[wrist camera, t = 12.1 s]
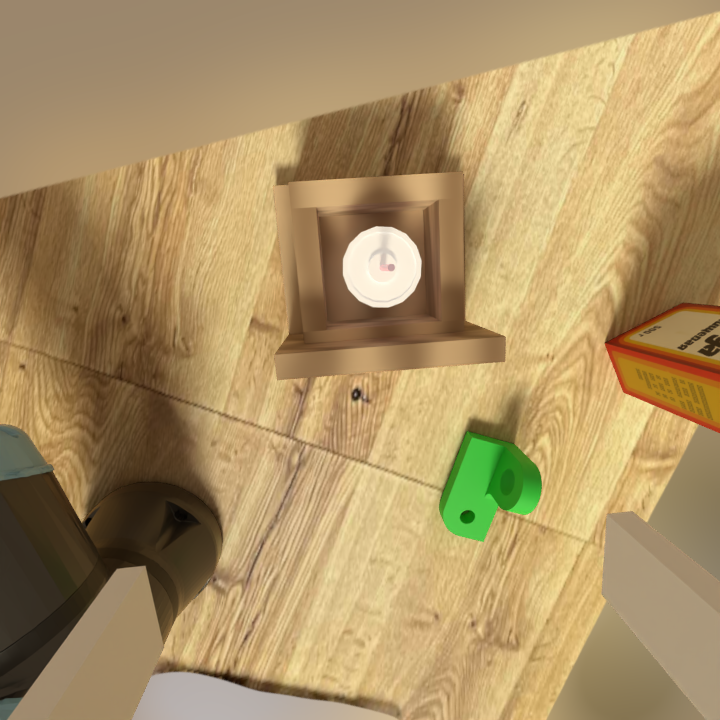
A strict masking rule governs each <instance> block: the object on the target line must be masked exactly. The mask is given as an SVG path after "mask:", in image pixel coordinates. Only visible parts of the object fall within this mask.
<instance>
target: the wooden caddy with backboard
mask: <svg viewBox="0 0 720 720" xmlns="http://www.w3.org/2000/svg"><path fill="white" fill-rule="evenodd" d="M273 191H274V200H275V210H276V219H277V228H278V237H279V246H280V256H281V265H282V274H283V283H284V292H285V301H286V311H287V320H288V329H289V335H288V337H287V338H286V339H285V341H284V342H283V344H282V345H281V346H280V348H279V349H278V350H277V352H276V353H275V354H274V357H275V366H276V374H277V380H284V379H297V378H309V377H321V376H334V375H346V374H358V373H370V372H383V371H395V370H407V369H420V368H432V367H444V366H457V365H469V364H481V363H493V362H505V346H506V337H505V336H503V335H500V334H497V333H495V332H492V331H490V330H487V329H485V328H482V327H480V326H477V325H474V324H472V323H469V322H467V321H465V241H464V174H463V171H462V172H445V173H428V174H412V175H395V176H379V177H362V178H346V179H329V180H313V181H296V182H288V185H275V186H273ZM376 226H378V227H393V228H395V229H397V230H399V231H401V232H403V233H405V234H407V235H408V237H409V238H410V239H411V240H412V241H413V242H414V244H415V245H416V246H417V249H418V252H419V255H420V258H421V261H422V263H421V277H420V279H419V282H418V284H417V286H416V288H415V290H414V292H413V293H412V294H411V295H410V296H408V297H407V298H406V299H405V300H404V301H403V302H401V303H399V304H396V305H394V306H391V307H388V308H387V307H372V306H369V305H367V304H365V303H363V302H360V301H359V300H358V299H357V298H356V297H355V296H354V295H353V294H352V293H351V292H350V291H349V290H348V287H347V284H346V282H345V279H344V277H343V258H344V255H345V253H346V251H347V248H348V246H349V244H350V243H351V242H352V241H353V240H354V239H355V238H356V237H357V236H358V235H359V234H360V233H361V232H363V231H366V230H368V229H371V228H373V227H376Z"/></svg>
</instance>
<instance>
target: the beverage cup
mask: <svg viewBox="0 0 720 720" xmlns="http://www.w3.org/2000/svg"><path fill="white" fill-rule="evenodd" d="M421 263H422V261H421V258H420V255H419V252H418V249H417V246H416V245H415V244H414V242H413V241H412V240H411V239H410V238H409V237H408V235H407V234H405V233H403V232H401V231H399V230H397V229H395V228H393V227H378V226H376V227H373V228H371V229H368V230H366V231H363V232H361V233H360V234H359V235H358V236H357V237H356V238H355V239H354V240H353V241H352V242H351V243H350V244H349V246H348V248H347V251H346V253H345V255H344V258H343V277H344V279H345V282H346V284H347V287H348V290H349V291H350V292H351V293H352V294H353V295H354V296H355V297H356V298H357V299H358V300H359V301H360V302H363V303H365V304H367V305H369V306H372V307H387V308H388V307H391V306H394V305H396V304H399V303H401V302H403V301H404V300H405V299H406V298H407V297H408V296H410V295H411V294H412V293H413V292H414V290H415V288H416V286H417V284H418V282H419V279H420V277H421Z"/></svg>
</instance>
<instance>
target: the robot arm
mask: <svg viewBox="0 0 720 720" xmlns="http://www.w3.org/2000/svg"><path fill="white" fill-rule="evenodd" d="M53 470H54V468H53V466H52V465H50V464H47V462H46V461H45V460H44V458H43V457H42V455H41V454H40V452H39V451H38V450H37V448H36V447H35V445H34V443H33V442H32V440H31V439H30V437H29V436H28V435H27V434H26V433H25V432H24V431H23V430H21V429H20V428H18V427H15V426H12V425H6V424H0V720H131V719H132V717H133V715H134V713H135V711H136V709H137V706H138V704H139V702H140V700H141V697H142V695H143V693H144V691H145V689H146V686H147V684H148V682H149V680H150V677H151V675H152V673H153V671H154V669H155V666H156V664H157V662H158V660H159V657H160V655H161V653H162V651H163V649H164V644H165V641H166V639H167V637H168V635H169V632H170V630H171V628H172V626H173V623H174V621H175V619H176V618H177V617H178V615H179V614H180V613H181V612H182V611H183V610H184V609H185V608H186V606H187V605H188V604H189V603H190V602H191V601H192V600H193V599H194V598H196V597H197V596H198V595H199V594H200V593H201V592H202V591H203V590H204V588H205V587H206V586H207V584H208V583H209V581H210V580H211V578H212V576H213V574H214V571H215V569H216V566H217V564H218V562H219V559H220V555H221V550H222V536H221V531H220V528H219V525H218V522H217V520H216V518H215V517H214V515H213V513H212V512H211V511H210V509H209V508H208V507H207V506H206V505H205V504H204V503H203V502H202V501H201V500H200V499H198V498H197V497H196V496H194V495H193V494H191V493H189V492H188V491H186V490H184V489H181V488H179V487H176V486H173V485H170V484H165V483H158V482H142V483H135V484H131V485H127V486H124V487H122V488H119V489H117V490H115V491H113V492H112V493H110V494H109V495H107V496H106V497H105V498H104V499H103V500H102V501H101V502H100V503H99V504H97V505H96V506H95V507H94V508H93V509H92V510H91V512H90V513H89V514H88V515H87V516H86V518H85V519H84V521H83V522H82V523H81V521H80V519H79V518H78V516H77V514H76V512H75V511H74V509H73V507H72V505H71V503H70V502H69V500H68V498H67V496H66V495H65V493H64V491H63V489H62V487H61V486H60V484H59V482H58V480H57V478H56V477H55V475H54V473H53ZM602 595H603V597H604V598H605V599H606V600H607V601H608V603H609V604H610V605H611V606H612V607H613V609H614V610H615V611H616V612H617V613H618V615H619V616H620V617H621V618H622V619H623V621H624V622H625V623H626V624H627V625H628V627H629V628H630V629H631V630H632V631H633V633H634V634H635V635H636V636H637V637H638V638H639V640H640V641H641V642H642V643H643V645H644V646H645V647H646V648H647V649H648V651H649V652H650V653H651V654H652V656H653V657H654V658H655V659H656V660H657V661H658V663H659V664H660V665H661V666H662V668H663V669H664V670H665V671H666V672H667V674H668V675H669V676H670V677H671V678H672V680H673V681H674V682H675V683H676V684H677V686H678V687H679V688H680V689H681V690H682V692H683V693H684V694H685V695H686V696H687V698H688V699H689V700H690V701H691V702H692V704H693V705H694V706H695V707H696V708H697V710H698V711H699V712H700V713H701V715H702V716H703V717H704V718H705V719H706V720H720V581H719V580H717V579H716V578H715V577H713V576H712V575H711V574H710V573H709V572H707V571H706V570H705V569H704V568H702V567H701V566H700V565H699V564H697V563H696V562H695V561H694V560H692V559H691V558H690V557H688V556H687V555H686V554H685V553H684V552H682V551H681V550H680V549H679V548H677V547H676V546H675V545H673V544H672V543H671V542H670V541H669V540H667V539H666V538H665V537H664V536H662V535H661V534H660V533H659V532H658V531H656V530H655V529H654V528H653V527H651V526H650V525H649V524H648V523H646V522H645V521H644V520H643V519H641V518H640V517H639V516H638V515H636V514H635V513H634V512H633V511H630V512H621V513H612V514H607V519H606V534H605V550H604V565H603V581H602Z"/></svg>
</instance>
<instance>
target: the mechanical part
mask: <svg viewBox="0 0 720 720" xmlns="http://www.w3.org/2000/svg"><path fill="white" fill-rule="evenodd" d="M541 489H542V481H541V475H540V472H539V469H538V468H537V466H536V465H535V464H534V463H533V462H532V461H531V460H530V459H529V458H528V457H527V456H526V455H525V454H524V453H523V452H522V451H521V450H520V449H519V448H518V447H517V446H516V445H515V444H512V443H509V442H505V441H501V440H498V439H494V438H490V437H487V436H483V435H479V434H476V433H472V432H469V431H467V432H466V434H465V437H464V440H463V442H462V445H461V447H460V450H459V453H458V455H457V458H456V460H455V463H454V466H453V468H452V471H451V474H450V476H449V479H448V481H447V484H446V487H445V489H444V492H443V494H442V497H441V500H440V504H439V510H440V514H441V516H442V519H443V521H444V523H445V525H446V527H447V528H448V530H449V531H451V532H452V533H453V534H455V535H458V536H462V537H466V538H470V539H474V540H478V541H482V542H484V539H485V537H486V534H487V532H488V530H489V527H490V525H491V522H492V520H493V518H494V515H495V513H496V510H497V508H498V506H499V507H500V508H501V509H503V510H506V511H510V512H514V513H518V514H522V515H526V514H529V513H531V512H532V511H533V510H534V509H535V507H536V506H537V504H538V502H539V499H540V495H541ZM465 510H469V512H468V513H466V514H464V515H461V513H462V512H463V511H465Z"/></svg>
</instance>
